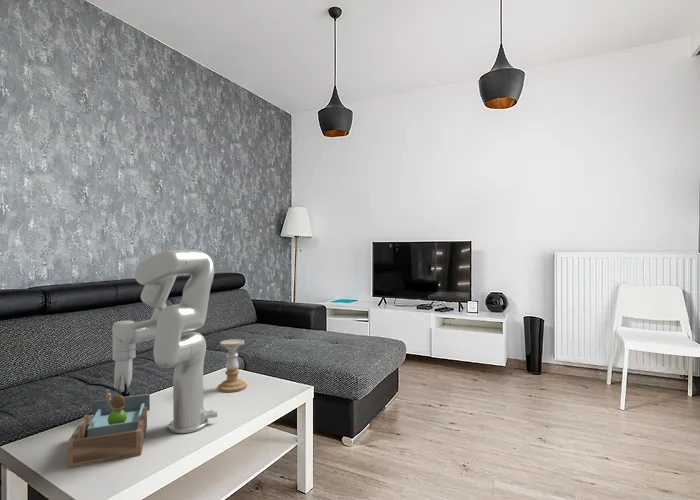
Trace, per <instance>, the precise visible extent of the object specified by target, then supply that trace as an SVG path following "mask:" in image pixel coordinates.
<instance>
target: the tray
mask: <svg viewBox="0 0 700 500" xmlns="http://www.w3.org/2000/svg"><path fill="white" fill-rule="evenodd" d="M150 397H151V396H150V393H144V394H136V395H135V394H134V395H130V396H126V397H124V400H125V402H124V405H123V406H122V407H124V409H123V410H124V411H125V412H126V415H127V418H126V421H125V422H124V423H118V424H111V425H109V423H108V416H109V414H110V413H111V412H112V411H114V410H113V409H111V408H110V407H109V405H108V401H107V398H104V399H96V400H93V417H92V420H91V421H90V422H89V427H88V428H87V438H88V437H94V436H101V435H107V434H114V433H120V432H127V431H133V430H137V427H138V424H139V420H140V416H141V413H142V409H143V407H147V412H149V411H150V408H151V407H150V405H151V404H150V403H151V402H150V401H151V399H150ZM112 398H113V397H111V400H112Z"/></svg>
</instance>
